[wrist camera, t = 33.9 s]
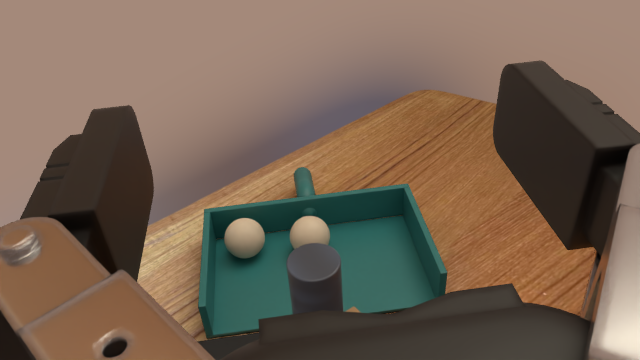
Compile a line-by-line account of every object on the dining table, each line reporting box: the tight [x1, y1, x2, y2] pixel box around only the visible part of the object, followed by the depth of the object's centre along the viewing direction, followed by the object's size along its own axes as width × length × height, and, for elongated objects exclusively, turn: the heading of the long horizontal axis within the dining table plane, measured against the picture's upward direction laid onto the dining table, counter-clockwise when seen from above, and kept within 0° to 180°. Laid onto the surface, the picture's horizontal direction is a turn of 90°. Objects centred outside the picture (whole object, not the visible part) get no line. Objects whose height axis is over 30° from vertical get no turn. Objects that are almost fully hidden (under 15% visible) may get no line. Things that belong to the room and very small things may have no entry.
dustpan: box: [198, 167, 447, 339], centre depth 45 cm, size 16×17×3 cm
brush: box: [286, 243, 361, 314], centre depth 31 cm, size 8×4×11 cm, turn 125°
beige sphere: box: [290, 216, 330, 249], centre depth 44 cm, size 3×3×3 cm
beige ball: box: [224, 218, 265, 258], centre depth 44 cm, size 3×3×3 cm
